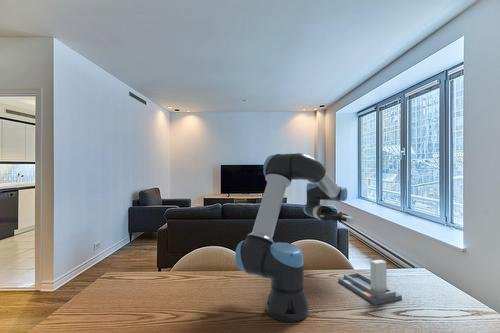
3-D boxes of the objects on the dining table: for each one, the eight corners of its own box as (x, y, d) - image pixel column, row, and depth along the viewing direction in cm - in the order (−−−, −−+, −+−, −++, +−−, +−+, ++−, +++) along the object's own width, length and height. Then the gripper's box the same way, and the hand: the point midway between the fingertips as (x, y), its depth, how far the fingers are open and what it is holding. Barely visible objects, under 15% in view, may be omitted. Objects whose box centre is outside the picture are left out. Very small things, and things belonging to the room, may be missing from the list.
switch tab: (370, 290, 110) (370, 260, 110) (380, 289, 111) (380, 259, 111) (376, 294, 107) (376, 263, 107) (386, 292, 108) (386, 261, 108)
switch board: (338, 281, 123) (338, 274, 123) (362, 277, 127) (362, 271, 127) (374, 304, 102) (374, 296, 102) (401, 299, 106) (401, 291, 106)
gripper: (333, 219, 148) (364, 228, 126) (312, 220, 144) (340, 230, 122) (333, 205, 148) (364, 211, 126) (312, 206, 144) (340, 213, 122)
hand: (352, 220), depth 124 cm, fingers closed
